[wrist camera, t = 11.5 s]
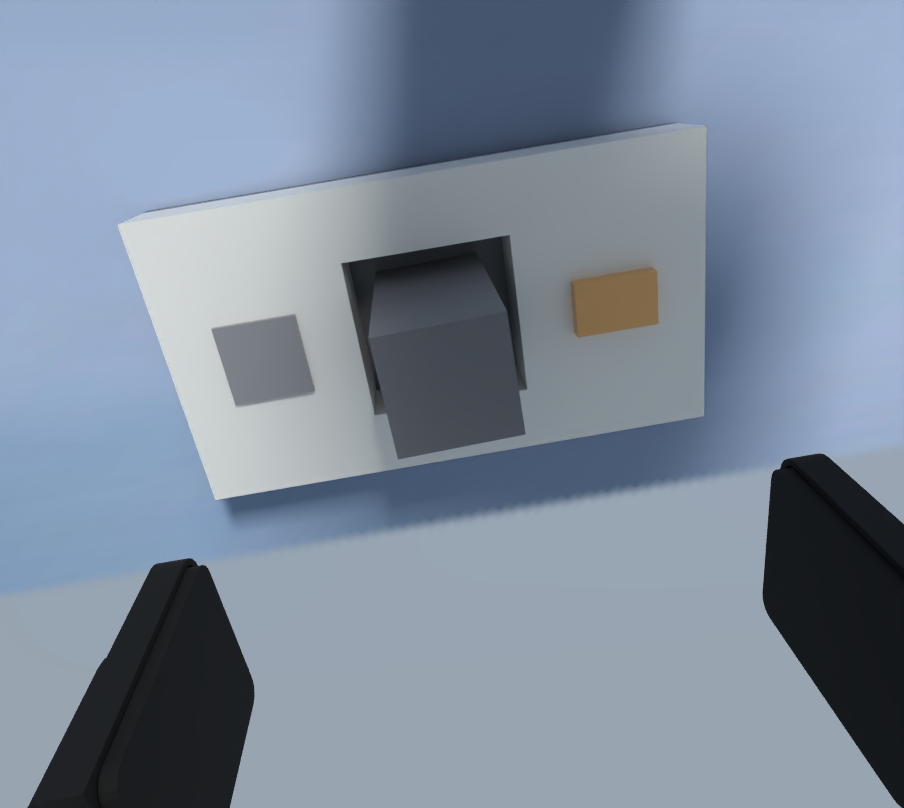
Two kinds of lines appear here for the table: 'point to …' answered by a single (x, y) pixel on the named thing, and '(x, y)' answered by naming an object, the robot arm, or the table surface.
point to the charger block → (444, 356)
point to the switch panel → (421, 240)
